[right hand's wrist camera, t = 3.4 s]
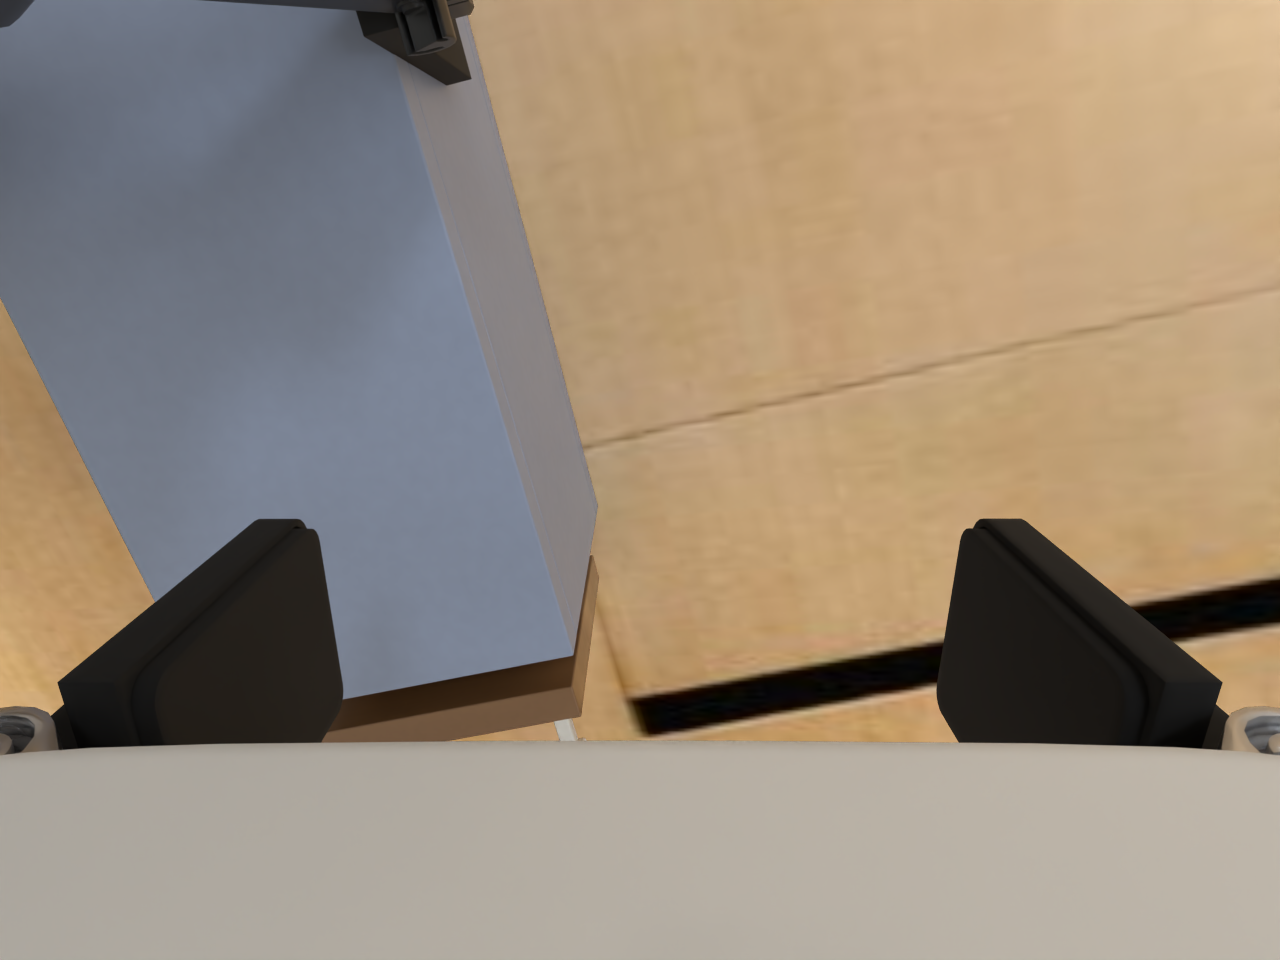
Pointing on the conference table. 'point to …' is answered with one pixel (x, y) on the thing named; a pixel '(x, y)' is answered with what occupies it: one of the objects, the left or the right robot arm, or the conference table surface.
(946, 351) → the conference table surface
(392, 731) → the drawer
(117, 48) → the grey box
